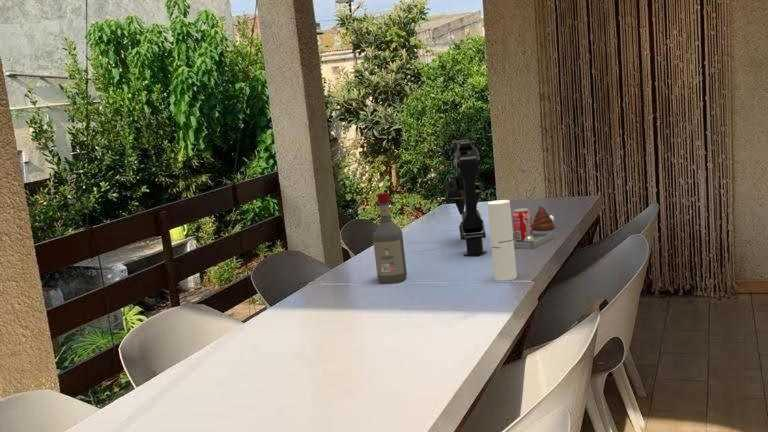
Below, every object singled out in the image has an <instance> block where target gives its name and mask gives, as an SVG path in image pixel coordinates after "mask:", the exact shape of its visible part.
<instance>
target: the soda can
mask: <svg viewBox="0 0 768 432" xmlns="http://www.w3.org/2000/svg"><path fill="white" fill-rule="evenodd" d="M532 224H533V221H532V213H531V211H530V209H529V208H527V207H521V208H515V209H513V213H512V228H513V234H514V236H515V239H516V240H517V241H519V242H525V241H524V239H525V237H526V236H528V235H530V236H532V237H533V233H534V231H533V230H534V229H532Z"/></svg>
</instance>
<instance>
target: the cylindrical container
mask: <svg viewBox="0 0 768 432" xmlns="http://www.w3.org/2000/svg"><path fill="white" fill-rule="evenodd" d="M511 210H512V209H511V201H510V200H509V199H501V200H499V199H498V200H497V199H496V200H491V201H488V202H487V213H488V221H489V232H490V233H489V235H490V243H491V252H492V253H491V256H492V264H493V265H492V266H493V274H494V275H493V277H494V281H500V282H506V281H507V282H508V281H512V280H516V279H517V278H518V277H517V276H518V275H517V273H518V272H517V264H516V253H515V248H514V241H513V234H514V229H513V218H512V211H511Z"/></svg>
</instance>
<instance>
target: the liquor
mask: <svg viewBox="0 0 768 432" xmlns="http://www.w3.org/2000/svg"><path fill="white" fill-rule="evenodd" d="M389 199H390V197H389V193H388V192H380V193H377V201H378V202H377V203H378V206H379V215H380V217H379V218H380V220H379V221H380V222H379V224H378V226H377V227H376V229H375V231H374V232H373V233H372V240H373V241H372V243H373V251H374V257H375V258H374V259H375V266H376V267H375V268H376V274H377V281H378V282H379V284H383V285H385V284H399V283H403V282H404V281H405V280H406V279H407V277H408V272H407V270H408V269H407V265H406V264H407V263H406V253H405V246H404V245H405V244H404V238H403V237H404V236H403V231H402V228H401V227H399V226H398V225H397V224H396V223H395V222H394V221H393V220H392V217H391V211H390V200H389Z"/></svg>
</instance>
